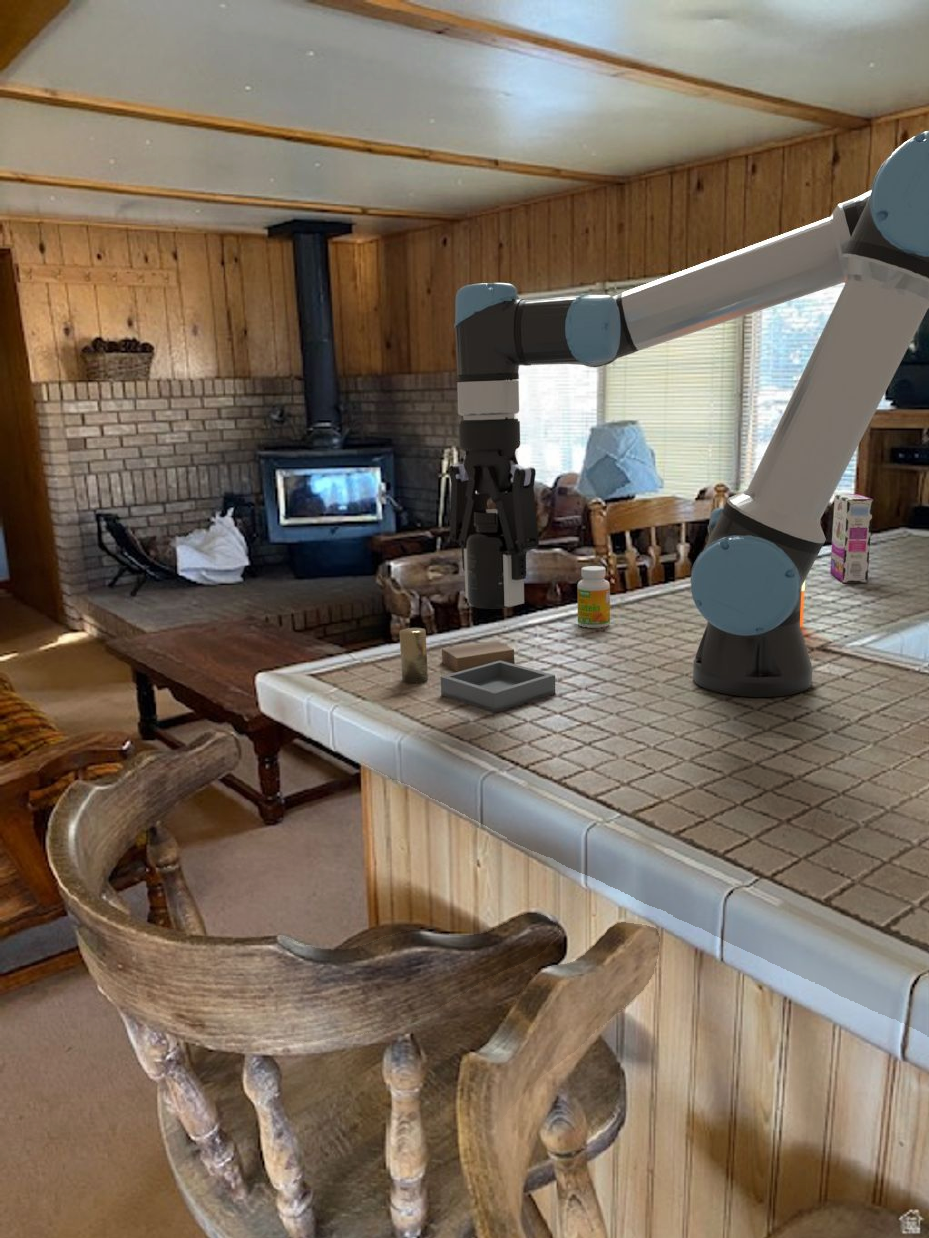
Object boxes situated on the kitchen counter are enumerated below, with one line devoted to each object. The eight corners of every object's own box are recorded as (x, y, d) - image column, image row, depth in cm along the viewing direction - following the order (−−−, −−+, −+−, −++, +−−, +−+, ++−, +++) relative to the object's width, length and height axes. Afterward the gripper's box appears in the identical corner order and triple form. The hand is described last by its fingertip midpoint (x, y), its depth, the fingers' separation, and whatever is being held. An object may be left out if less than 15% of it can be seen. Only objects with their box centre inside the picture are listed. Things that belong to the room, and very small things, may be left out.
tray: (555, 693, 124) (555, 675, 123) (495, 712, 117) (494, 693, 117) (500, 677, 132) (500, 660, 131) (441, 694, 125) (440, 676, 124)
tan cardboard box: (514, 665, 139) (514, 649, 138) (457, 674, 135) (457, 658, 135) (497, 656, 144) (496, 640, 144) (442, 664, 141) (441, 648, 140)
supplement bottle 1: (516, 610, 118) (514, 514, 115) (463, 609, 119) (459, 514, 116) (524, 598, 124) (522, 507, 122) (473, 598, 126) (470, 507, 123)
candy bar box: (869, 583, 184) (874, 498, 180) (842, 584, 184) (846, 499, 181) (854, 573, 194) (859, 492, 191) (829, 573, 195) (833, 493, 191)
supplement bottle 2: (573, 627, 158) (573, 570, 156) (582, 620, 163) (581, 564, 161) (605, 629, 156) (605, 571, 154) (613, 622, 161) (613, 565, 159)
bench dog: (433, 679, 132) (430, 630, 131) (412, 684, 130) (409, 635, 128) (417, 674, 135) (414, 626, 133) (397, 679, 133) (394, 631, 131)
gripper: (568, 415, 111) (570, 606, 117) (460, 416, 126) (466, 586, 131) (522, 418, 107) (526, 617, 112) (416, 419, 121) (424, 595, 127)
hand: (494, 600), depth 122 cm, fingers closed on supplement bottle 1, 7 cm apart
